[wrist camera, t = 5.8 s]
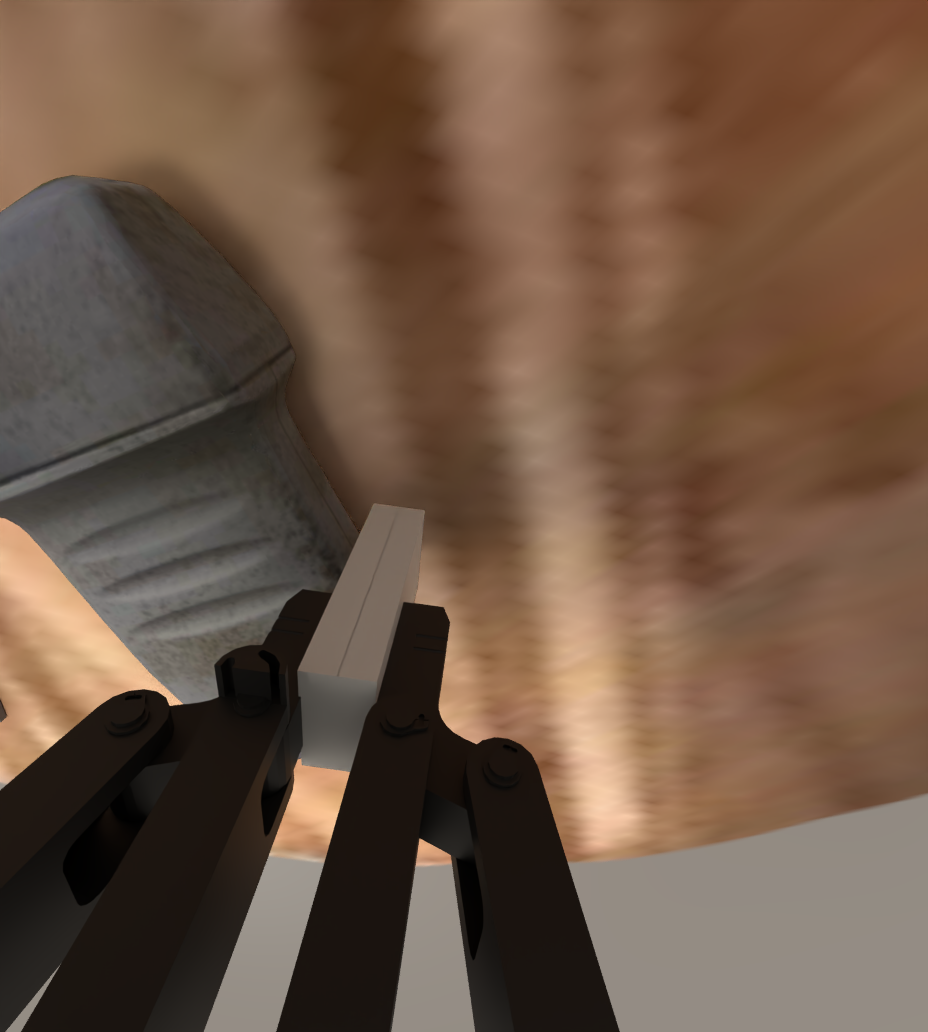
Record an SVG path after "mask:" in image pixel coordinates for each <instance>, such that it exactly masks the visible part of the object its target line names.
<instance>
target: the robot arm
mask: <svg viewBox="0 0 928 1032" xmlns="http://www.w3.org/2000/svg"><path fill="white" fill-rule="evenodd" d="M424 515H425V510H419V509H412V508H405V507H398V506H390V505H383V504H376V503H374V504H373V506H372V508H371V511H370V513H369V515H368V517H367V519H366V521H365V524H364V526H363V528H362V530H361V532H360V535H359V537H358V539H357V541H356V543H355V546H354V548H353V550H352V552H351V554H350V557H349V559H348V561H347V563H346V565H345V567H344V570H343V572H342V574H341V576H340V578H339V581H338V583H337V585H336V587H335V589H334V592H333V593H327V592H320V591H313V590H306V589H302V590H301V591H299V592H298V593H297V594H295V595H294V596H293V597H291V598H290V599H289V600H288V601H287V602H286V603H285V605H284V607H283V609H282V611H281V612H280V614H279V616H278V619H276V621H275V623H274V625H273V627H272V629H271V631H270V632H269V634H268V635H267V637H266V639H265V641H264V642H263V644H262V645H248V646H244V647H240V648H236V649H234V650H232V651H230V652H228V653H227V654H225V655H223V656H222V657H221V658H220V659H219V660H218V661H217V662H216V663H215V664H214V668H215V675H216V682H217V688H218V695H219V697H217V698H214V699H212V700H208V701H203V702H198V703H190V704H182V705H174V706H169V704H168V701H167V699H166V697H164V696H163V695H161V694H160V693H158V692H156V691H151V690H145V689H142V690H134V691H128V692H125V693H122V694H119V695H117V696H114V697H112V698H111V699H109V700H107V701H106V702H104V703H103V704H101V705H100V706H99V707H97V708H96V709H95V710H94V711H93V712H91V713H90V714H89V715H88V716H87V717H86V718H84V719H83V720H82V721H81V722H80V723H79V724H77V725H76V726H75V727H74V728H73V729H72V730H70V731H69V732H68V733H67V734H66V735H65V736H63V737H62V738H61V739H60V740H59V741H57V742H56V743H55V744H54V745H53V746H52V747H50V748H49V749H48V750H47V751H46V752H45V753H43V754H42V755H41V756H40V757H39V758H38V759H36V760H35V761H34V762H33V763H32V764H31V765H29V766H28V767H27V768H26V769H25V770H24V771H22V772H21V773H20V774H19V775H18V776H16V777H15V778H14V779H13V780H12V781H11V782H9V783H8V784H7V785H6V786H5V787H4V788H2V789H1V790H0V1032H5V1031H6V1030H7V1029H8V1028H9V1027H10V1025H11V1024H12V1023H13V1021H14V1020H15V1019H16V1018H17V1017H18V1015H19V1014H20V1013H21V1012H22V1011H23V1009H24V1008H25V1007H26V1006H27V1004H28V1003H29V1002H30V1001H31V1000H32V998H33V997H34V996H35V995H36V993H37V992H38V991H39V990H40V989H41V987H42V986H43V985H44V984H45V982H46V981H47V980H48V979H49V978H50V976H51V975H52V974H53V973H54V971H55V970H56V969H57V968H58V966H59V965H60V964H61V965H60V967H59V968H58V970H57V972H56V973H55V975H54V977H53V978H52V980H51V982H50V983H49V985H48V987H47V989H46V990H45V992H44V994H43V996H42V997H41V999H40V1000H39V1002H38V1004H37V1006H36V1007H35V1009H34V1011H33V1012H32V1014H31V1016H30V1017H29V1019H28V1021H27V1023H26V1024H25V1026H24V1028H23V1029H22V1031H21V1032H204V1029H205V1026H206V1024H207V1021H208V1018H209V1016H210V1013H211V1010H212V1008H213V1005H214V1002H215V999H216V997H217V994H218V991H219V989H220V986H221V983H222V980H223V978H224V975H225V972H226V970H227V967H228V964H229V961H230V959H231V956H232V953H233V951H234V948H235V945H236V943H237V940H238V937H239V934H240V931H241V929H242V926H243V923H244V921H245V918H246V915H247V913H248V910H249V907H250V905H251V902H252V899H253V896H254V893H255V891H256V888H257V885H258V883H259V880H260V877H261V875H262V872H263V869H264V866H265V864H266V861H267V859H268V856H269V853H270V850H271V848H272V845H273V842H274V840H275V837H276V834H277V831H278V829H279V826H280V823H281V821H282V818H283V815H284V812H285V810H286V807H287V804H288V802H289V799H290V796H291V794H292V791H293V784H294V767H295V765H296V762H297V760H298V757H299V754H300V752H301V759H302V765H306V766H313V767H320V768H327V769H334V770H341V771H348V772H350V775H349V778H348V782H347V785H346V789H345V792H344V796H343V799H342V803H341V806H340V810H339V813H338V817H337V820H336V824H335V827H334V831H333V834H332V838H331V841H330V845H329V848H328V852H327V855H326V859H325V862H324V866H323V870H322V873H321V877H320V880H319V884H318V887H317V891H316V894H315V898H314V901H313V905H312V908H311V912H310V915H309V919H308V922H307V926H306V930H305V933H304V937H303V940H302V943H301V947H300V950H299V954H298V957H297V961H296V964H295V968H294V971H293V975H292V979H291V982H290V986H289V989H288V993H287V996H286V1000H285V1003H284V1007H283V1010H282V1014H281V1017H280V1021H279V1024H278V1028H277V1031H276V1032H391V1029H392V1022H393V1016H394V1009H395V1002H396V995H397V989H398V981H399V975H400V968H401V961H402V954H403V947H404V941H405V934H406V926H407V919H408V913H409V906H410V899H411V893H412V886H413V879H414V872H415V865H416V858H417V852H418V845H419V838H420V839H422V840H424V841H426V842H428V843H430V844H432V845H433V846H435V847H437V848H439V849H441V850H443V851H445V852H447V853H448V854H450V855H451V860H452V867H453V874H454V881H455V888H456V896H457V903H458V910H459V917H460V925H461V932H462V939H463V946H464V954H465V960H466V967H467V975H468V982H469V989H470V997H471V1004H472V1011H473V1019H474V1026H475V1032H620V1031H619V1028H618V1025H617V1021H616V1018H615V1015H614V1012H613V1009H612V1005H611V1002H610V999H609V996H608V992H607V989H606V986H605V983H604V980H603V976H602V973H601V970H600V966H599V963H598V960H597V957H596V954H595V950H594V947H593V944H592V940H591V937H590V934H589V931H588V927H587V924H586V921H585V918H584V915H583V912H582V908H581V905H580V902H579V898H578V895H577V892H576V889H575V886H574V882H573V879H572V876H571V873H570V869H569V866H568V863H567V859H566V856H565V853H564V850H563V846H562V843H561V840H560V837H559V833H558V830H557V827H556V824H555V820H554V817H553V814H552V811H551V808H550V804H549V801H548V798H547V795H546V791H545V788H544V785H543V782H542V778H541V775H540V772H539V769H538V766H537V764H536V762H535V760H534V758H533V756H532V754H531V753H530V752H529V751H527V750H526V749H525V748H524V747H523V746H522V745H521V744H519V743H516V742H514V741H512V740H510V739H505V738H495V737H494V738H490V739H486V740H482V741H481V742H480V743H478V744H475V743H472V742H470V741H468V740H466V739H464V738H462V737H460V736H458V735H457V734H455V733H453V732H452V731H451V730H450V729H449V728H448V727H447V726H446V725H445V723H444V721H443V720H442V718H441V716H440V713H439V698H440V691H441V684H442V677H443V670H444V663H445V656H446V648H447V641H448V633H449V626H450V621H449V619H448V617H447V614H446V612H445V609H444V607H438V606H431V605H423V604H416V603H414V600H415V596H416V592H417V588H418V579H419V569H420V558H421V547H422V536H423V526H424Z"/></svg>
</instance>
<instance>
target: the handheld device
mask: <svg viewBox="0 0 928 1032" xmlns="http://www.w3.org/2000/svg"><path fill="white" fill-rule="evenodd" d="M295 359H296V356H295V352H294V350H293V348H292V346H291V344H290V341H289V339H288V336H287V334H286V332H285V331H284V329H283V328H282V326H281V325H280V323H279V322H278V320H277V319H276V317H275V316H274V314H273V313H272V312H271V310H270V309H269V308H268V307H267V306H266V304H265V303H264V302H263V301H262V300H261V298H260V297H259V296H258V295H257V294H256V292H255V291H254V290H253V289H252V288H251V287H250V286H249V285H248V284H247V283H246V282H245V280H244V279H243V278H242V277H241V276H240V275H239V274H238V273H237V272H236V271H235V270H234V269H233V267H232V266H231V265H230V264H229V263H228V262H227V261H226V260H225V259H224V258H223V256H222V255H221V254H220V253H219V252H218V251H217V250H215V249H214V248H213V247H212V246H211V245H210V243H209V242H208V241H207V240H206V239H205V238H204V237H203V236H202V235H201V234H200V233H199V232H198V231H197V230H196V229H194V228H193V227H192V226H191V225H190V224H189V223H188V222H187V221H186V220H185V219H184V218H183V217H182V216H181V215H180V214H179V213H178V212H177V211H176V210H175V209H173V208H172V207H171V206H170V205H169V204H168V203H167V202H165V201H164V200H163V199H162V198H161V197H160V196H158V195H157V194H156V193H155V192H153V191H152V190H150V189H148V188H147V187H145V186H142V185H138V184H134V183H130V182H123V181H115V180H109V179H103V178H95V177H85V176H75V175H71V176H66V177H61V178H56V179H53V180H51V181H48V182H46V183H44V184H42V185H40V186H39V187H37V188H36V189H34V190H33V191H31V192H30V193H28V194H27V195H25V196H24V197H22V198H21V199H19V200H18V201H16V202H15V203H13V204H12V205H10V206H9V207H7V208H6V209H4V210H3V211H2V212H0V517H1V518H5V519H8V520H9V521H11V522H13V523H15V524H17V525H18V526H20V527H21V528H22V529H23V530H24V531H26V532H27V533H28V534H29V535H30V536H31V537H32V538H33V540H34V541H35V542H36V543H37V544H38V545H39V546H40V547H41V549H42V550H43V551H44V552H45V553H46V554H47V555H48V556H49V557H50V559H51V560H52V561H53V562H54V563H55V564H56V566H57V567H58V568H59V569H60V571H61V572H62V573H63V574H64V575H65V577H66V578H67V579H68V580H69V581H70V582H71V584H72V585H73V586H74V587H75V588H76V589H77V591H78V592H79V593H80V594H81V595H82V596H83V597H84V599H85V600H86V601H87V602H88V603H89V604H90V606H91V607H92V608H93V609H94V610H95V611H96V613H97V614H98V615H99V616H100V617H101V618H102V620H103V621H104V622H105V623H106V624H107V625H108V626H109V628H110V629H111V630H112V631H113V632H114V633H115V634H116V635H117V637H118V638H119V639H120V640H121V641H122V642H123V643H124V645H125V646H126V647H127V648H128V649H129V650H130V651H131V653H132V654H133V655H134V656H135V657H136V658H137V659H138V660H139V661H140V662H141V663H142V665H143V666H144V667H145V668H146V669H147V670H148V671H149V672H150V673H151V674H152V675H153V676H154V677H155V678H156V679H157V680H158V681H159V682H160V683H161V684H163V685H164V686H165V687H166V688H167V689H168V690H169V691H170V692H171V693H172V694H173V695H174V696H175V697H176V698H178V699H179V700H180V701H181V702H182V703H183V704H190V703H198V702H203V701H208V700H212V699H214V698H217V697H219V695H218V688H217V682H216V675H215V668H214V664H215V663H216V662H217V661H218V660H219V659H220V658H221V657H222V656H223V655H225V654H227V653H228V652H230V651H232V650H234V649H236V648H240V647H244V646H248V645H262V644H263V642H264V641H265V639H266V637H267V635H268V634H269V632H270V631H271V629H272V627H273V625H274V623H275V621H276V619H278V616H279V614H280V612H281V611H282V609H283V607H284V605H285V603H286V602H287V601H288V600H289V599H290V598H291V597H293V596H294V595H295V594H297V593H298V592H299V591H301V590H302V589H306V590H313V591H320V592H327V593H333V592H334V589H335V587H336V585H337V583H338V581H339V578H340V576H341V574H342V572H343V570H344V567H345V565H346V563H347V561H348V559H349V557H350V554H351V552H352V550H353V548H354V546H355V543H356V541H357V539H358V537H359V533H358V531H357V529H356V528H355V526H354V524H353V522H352V521H351V519H350V517H349V516H348V514H347V512H346V510H345V509H344V507H343V505H342V504H341V502H340V500H339V499H338V497H337V495H336V494H335V492H334V490H333V489H332V487H331V485H330V484H329V482H328V480H327V478H326V476H325V474H324V473H323V471H322V469H321V468H320V466H319V464H318V463H317V461H316V460H315V458H314V456H313V455H312V453H311V451H310V450H309V448H308V446H307V445H306V443H305V441H304V439H303V438H302V436H301V434H300V432H299V430H298V429H297V427H296V425H295V423H294V421H293V420H292V418H291V416H290V414H289V411H288V408H287V405H286V398H285V390H286V384H287V382H288V379H289V376H290V373H291V371H292V368H293V365H294V362H295ZM298 759H301V752H300V754H299V757H298Z"/></svg>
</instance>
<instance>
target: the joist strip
mask: <svg viewBox="0 0 928 1032" xmlns="http://www.w3.org/2000/svg"><path fill="white" fill-rule="evenodd" d="M5 718H6V714H5V712H4V709H3V707H2V705H1V702H0V722H2V721H3V720H4V719H5Z"/></svg>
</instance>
